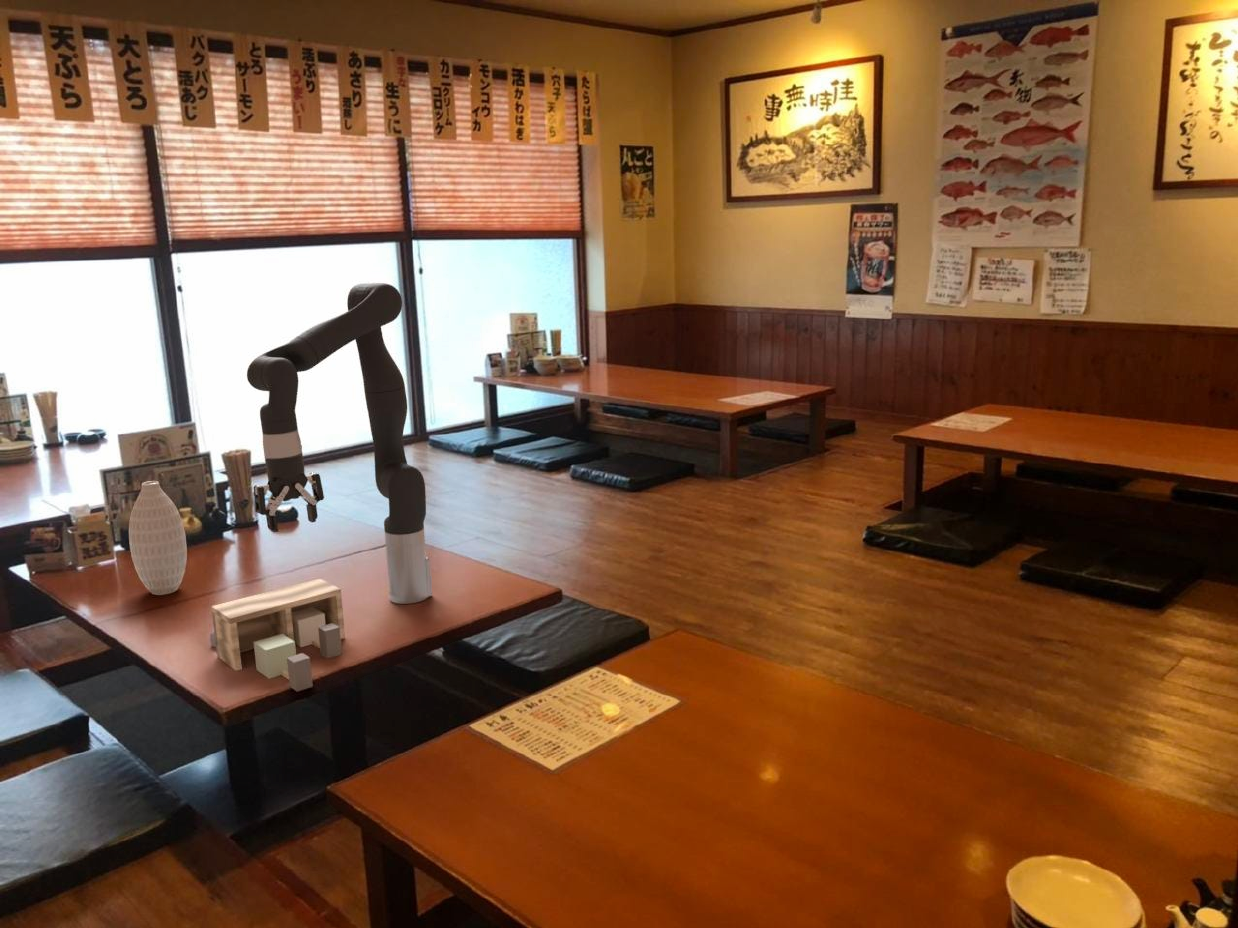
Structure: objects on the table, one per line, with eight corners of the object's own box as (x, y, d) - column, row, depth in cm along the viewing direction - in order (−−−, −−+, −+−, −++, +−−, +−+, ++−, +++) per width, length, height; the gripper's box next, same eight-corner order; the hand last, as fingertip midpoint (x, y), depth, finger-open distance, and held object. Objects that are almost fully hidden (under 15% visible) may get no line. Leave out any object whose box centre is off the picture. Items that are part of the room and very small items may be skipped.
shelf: (217, 656, 207) (211, 606, 204) (324, 625, 222) (319, 578, 220) (235, 670, 199) (229, 618, 197) (345, 637, 215) (340, 588, 213)
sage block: (256, 669, 200) (253, 641, 198) (285, 661, 204) (282, 633, 202) (290, 693, 188) (286, 664, 187) (319, 684, 192) (316, 655, 191)
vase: (193, 580, 256) (180, 474, 250) (189, 595, 245) (175, 485, 238) (140, 586, 253) (125, 479, 246) (133, 602, 241) (117, 490, 235)
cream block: (288, 639, 215) (286, 613, 214) (314, 632, 219) (312, 606, 217) (321, 660, 203) (318, 633, 202) (348, 651, 207) (345, 625, 206)
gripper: (306, 443, 213) (316, 515, 217) (242, 456, 204) (253, 531, 207) (323, 448, 208) (332, 521, 212) (258, 461, 198) (269, 538, 202)
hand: (293, 526), depth 209 cm, fingers open, 8 cm apart
